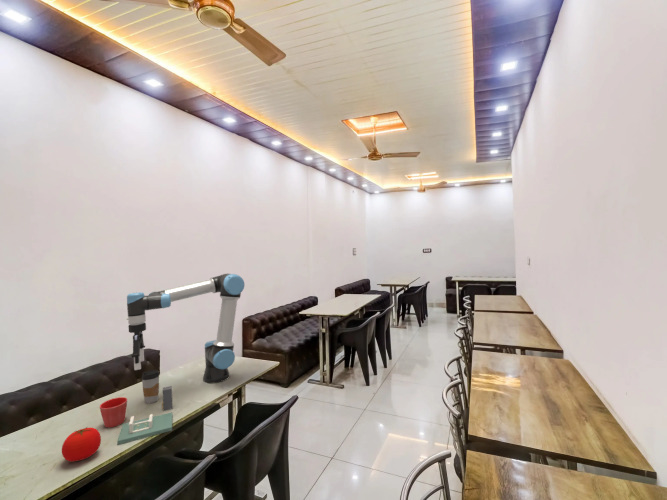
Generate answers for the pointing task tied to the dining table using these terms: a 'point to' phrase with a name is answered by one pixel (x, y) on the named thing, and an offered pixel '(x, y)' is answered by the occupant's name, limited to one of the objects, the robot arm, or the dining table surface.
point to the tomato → (81, 444)
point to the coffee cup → (150, 386)
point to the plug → (167, 398)
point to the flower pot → (114, 411)
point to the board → (145, 427)
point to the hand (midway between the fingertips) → (139, 365)
